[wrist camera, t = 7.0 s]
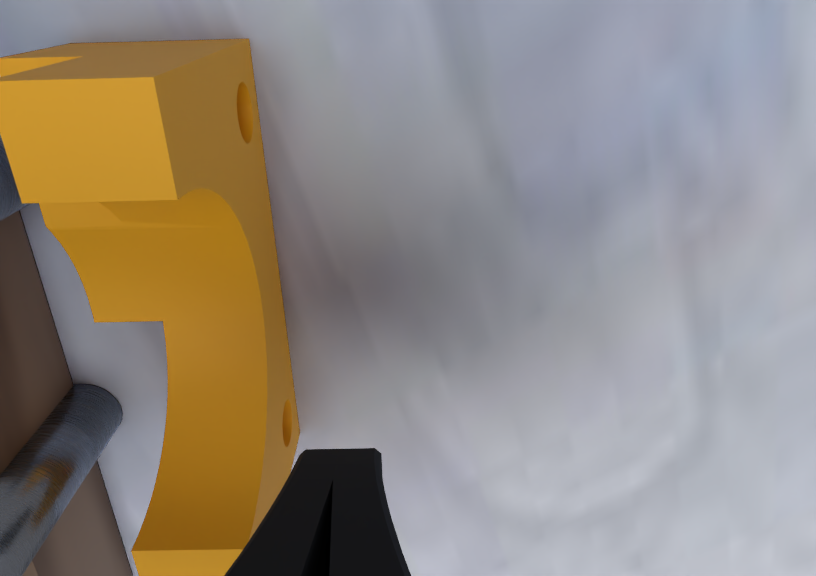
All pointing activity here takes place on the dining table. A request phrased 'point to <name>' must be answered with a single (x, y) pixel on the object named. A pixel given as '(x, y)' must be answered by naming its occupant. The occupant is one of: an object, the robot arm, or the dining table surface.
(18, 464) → the bench fence
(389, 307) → the dining table surface
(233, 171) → the pipe clamp
